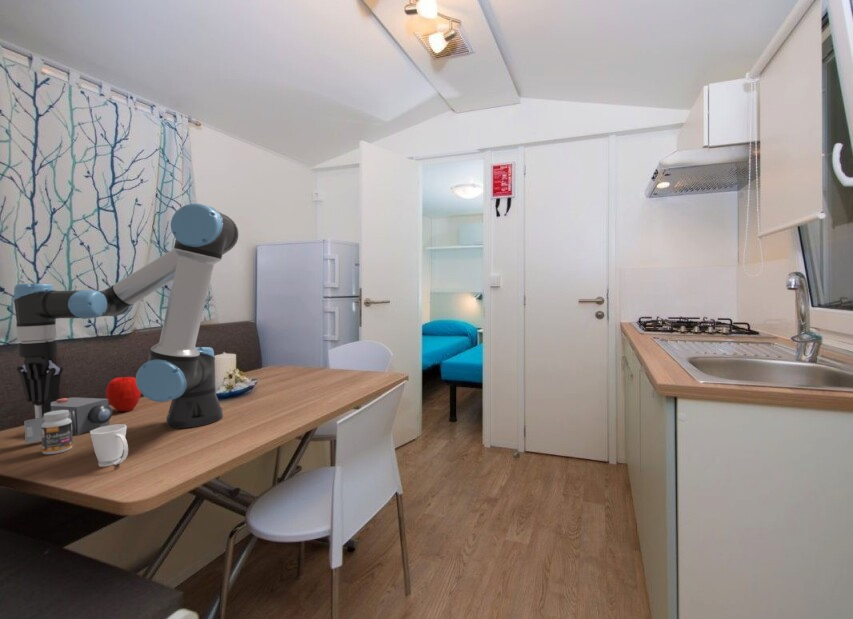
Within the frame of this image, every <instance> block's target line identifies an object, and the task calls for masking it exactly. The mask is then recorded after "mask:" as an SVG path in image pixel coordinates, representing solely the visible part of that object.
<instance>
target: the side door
mask: <svg viewBox="0 0 853 619" xmlns="http://www.w3.org/2000/svg"><path fill="white" fill-rule="evenodd" d="M68 418H69V419H71V420H72V434H74V433H76V428H75V410H72V411H70V412H69V416H68ZM44 422H45V420H44V417H41V418H32V419H27V420H24V422H23V423H24V425H23V426H24V439H25V445H28V444H33V443H36V442H42V432H41V426H42V424H43V423H44Z"/></svg>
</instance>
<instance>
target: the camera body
mask: <svg viewBox="0 0 853 619" xmlns="http://www.w3.org/2000/svg"><path fill="white" fill-rule="evenodd" d="M109 405H110V403H109V402H108V399H107V398H97V397H96V398H95V397H74V396H73V397H63V398H59V399H57V400H56V401H53V402H51V412H52V411H57V410H69V412H70V411H72V410H75V428H76V433H74V434H72V436H73V435H75V436H78V435H82V434H85V433H90V431H91V430H94V429H96V428H99V427H103V426H108V425H110V420H111V418H112V415H113V409H112V408H111V406H109Z"/></svg>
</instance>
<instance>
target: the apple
mask: <svg viewBox="0 0 853 619" xmlns="http://www.w3.org/2000/svg"><path fill="white" fill-rule="evenodd" d="M141 395H142V393H141V392H140V391H139V390H138V388H137V385H136V377H133V376H126V377H125V376H124V375H123V376H122V377H115V378H114V379H111V380H110V381H109V382H108V384H107V386H106V389H105V399H108V404H109V405H111V407H113V408H114V409H115V410H116V411H118V412H130V411H132V410H134V409H135V407H136V406H137V404H138V403H139V400H140V399H141Z"/></svg>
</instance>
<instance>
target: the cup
mask: <svg viewBox="0 0 853 619" xmlns="http://www.w3.org/2000/svg"><path fill="white" fill-rule="evenodd" d="M127 428H128V426H127V425H126V423H123V424H122V423H121V424H119V423H118V424H117V423H116V424H115V423H113V424H109V425H107V426H103V427H99V428H96V429H94V430H91V431H89V434H90V437H91V442H92V445H93V451H94V453H95V456H96V458H97V462H98V463H97V464H98V467H109V466H113V465H114V466H117V465H120V464H121V463H123V462H124V461H125V460H126V458H127V457H128V455H129V445H128V440H127V439H126V435H127V430H128V429H127Z"/></svg>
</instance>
